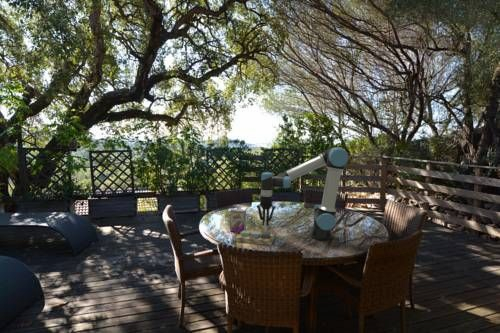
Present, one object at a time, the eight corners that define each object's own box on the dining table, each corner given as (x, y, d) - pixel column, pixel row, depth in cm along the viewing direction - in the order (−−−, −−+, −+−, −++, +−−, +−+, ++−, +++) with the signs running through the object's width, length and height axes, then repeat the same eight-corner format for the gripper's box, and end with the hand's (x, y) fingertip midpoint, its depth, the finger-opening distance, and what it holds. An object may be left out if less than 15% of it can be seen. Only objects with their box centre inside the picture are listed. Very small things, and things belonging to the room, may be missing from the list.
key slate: (260, 235, 215) (260, 231, 215) (258, 238, 210) (258, 234, 210) (252, 235, 217) (253, 231, 216) (250, 237, 211) (250, 233, 211)
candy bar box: (229, 231, 231) (230, 210, 229) (232, 229, 236) (232, 208, 234) (244, 233, 227) (244, 211, 225) (246, 231, 232) (246, 210, 230)
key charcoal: (270, 236, 213) (270, 232, 213) (268, 239, 208) (268, 235, 208) (262, 236, 215) (262, 232, 214) (260, 238, 210) (261, 234, 209)
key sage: (250, 234, 217) (250, 231, 217) (248, 237, 212) (248, 233, 211) (243, 234, 218) (243, 230, 218) (241, 236, 213) (241, 232, 213)
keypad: (274, 238, 217) (275, 234, 217) (270, 245, 204) (270, 240, 203) (241, 235, 223) (241, 230, 223) (235, 241, 210) (235, 237, 210)
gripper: (255, 196, 206) (254, 230, 209) (275, 197, 203) (273, 232, 206) (258, 193, 214) (257, 227, 216) (277, 195, 210) (276, 229, 213)
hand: (265, 229), depth 211 cm, fingers closed
